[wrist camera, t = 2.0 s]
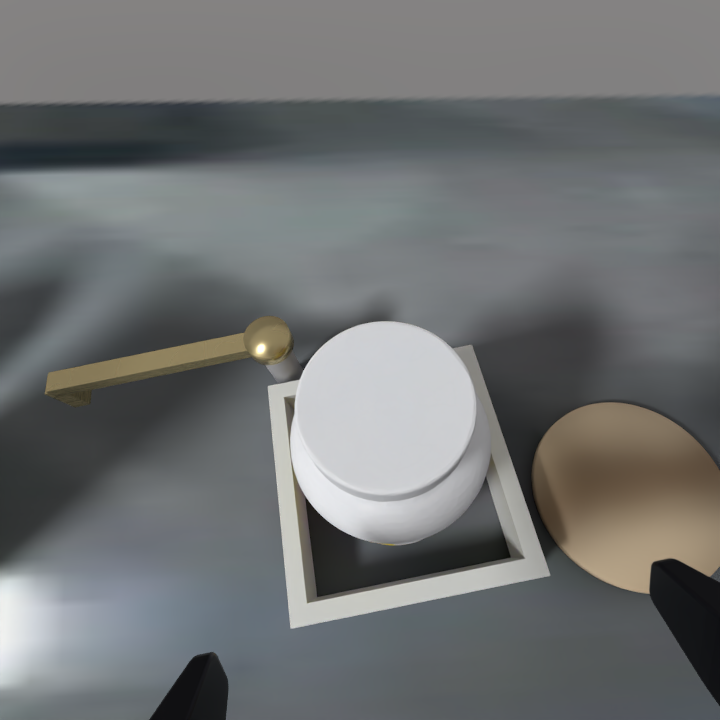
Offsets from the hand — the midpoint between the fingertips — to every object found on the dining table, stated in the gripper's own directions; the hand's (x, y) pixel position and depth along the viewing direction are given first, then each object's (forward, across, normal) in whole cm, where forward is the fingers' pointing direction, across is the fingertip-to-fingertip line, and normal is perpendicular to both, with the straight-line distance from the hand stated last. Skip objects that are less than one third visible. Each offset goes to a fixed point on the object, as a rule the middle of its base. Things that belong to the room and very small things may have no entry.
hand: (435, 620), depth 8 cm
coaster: (+10, -11, +8) cm, 17 cm away
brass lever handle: (+14, +9, -2) cm, 17 cm away
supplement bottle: (+13, 0, +6) cm, 14 cm away
